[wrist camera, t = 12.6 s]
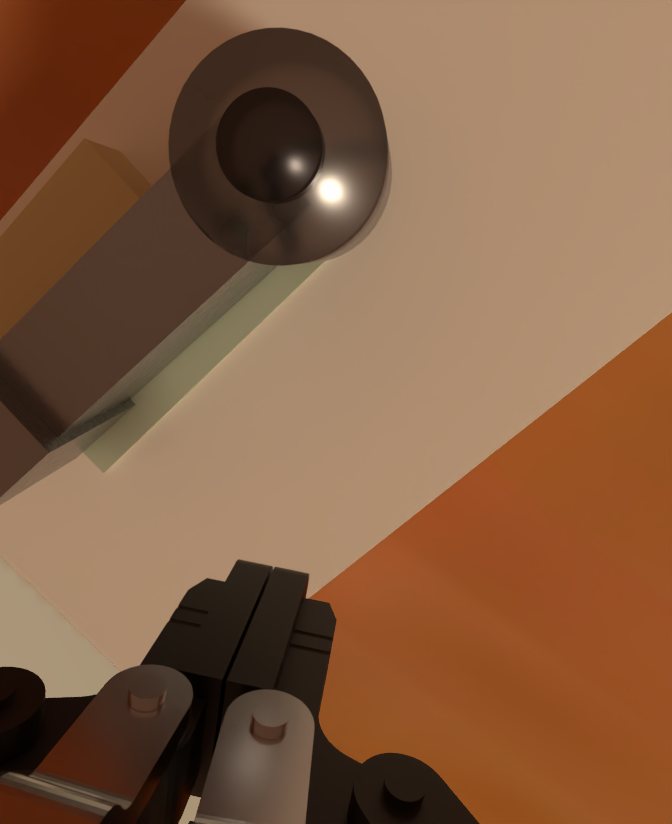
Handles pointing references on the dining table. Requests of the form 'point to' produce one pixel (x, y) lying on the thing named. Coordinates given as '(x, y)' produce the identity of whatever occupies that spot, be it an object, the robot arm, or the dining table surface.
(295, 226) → the latch bar
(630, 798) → the dining table surface
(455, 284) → the lock board
